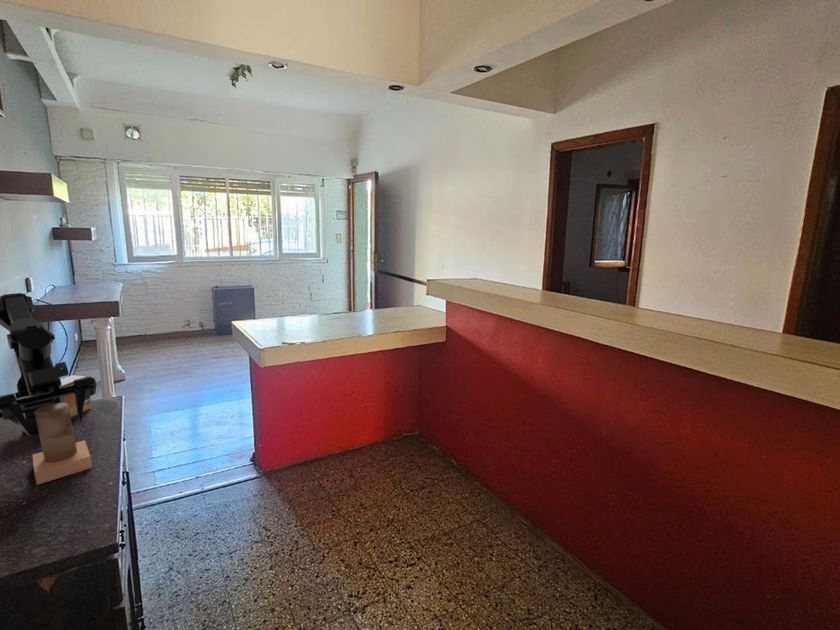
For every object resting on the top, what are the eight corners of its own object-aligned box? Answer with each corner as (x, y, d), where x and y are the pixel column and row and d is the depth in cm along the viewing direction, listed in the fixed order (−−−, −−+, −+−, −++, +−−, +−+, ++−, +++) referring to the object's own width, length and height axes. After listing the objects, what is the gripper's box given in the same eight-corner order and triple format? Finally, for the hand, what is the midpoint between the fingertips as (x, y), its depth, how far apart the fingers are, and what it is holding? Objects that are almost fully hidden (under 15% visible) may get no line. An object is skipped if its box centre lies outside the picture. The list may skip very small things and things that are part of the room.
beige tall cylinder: (54, 449, 105) (45, 403, 103) (82, 447, 106) (73, 401, 104) (38, 463, 100) (27, 414, 97) (67, 460, 101) (58, 412, 98)
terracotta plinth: (34, 466, 104) (32, 454, 103) (86, 451, 111) (84, 440, 110) (37, 484, 97) (34, 472, 96) (92, 467, 103) (90, 456, 103)
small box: (67, 419, 127) (61, 385, 125) (52, 417, 128) (45, 384, 126) (93, 408, 135) (87, 376, 132) (78, 406, 136) (72, 374, 134)
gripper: (-19, 363, 93) (-2, 427, 89) (88, 344, 107) (107, 399, 102) (-14, 388, 100) (2, 448, 96) (85, 367, 114) (103, 419, 109)
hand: (56, 427), depth 100 cm, fingers open, 9 cm apart
